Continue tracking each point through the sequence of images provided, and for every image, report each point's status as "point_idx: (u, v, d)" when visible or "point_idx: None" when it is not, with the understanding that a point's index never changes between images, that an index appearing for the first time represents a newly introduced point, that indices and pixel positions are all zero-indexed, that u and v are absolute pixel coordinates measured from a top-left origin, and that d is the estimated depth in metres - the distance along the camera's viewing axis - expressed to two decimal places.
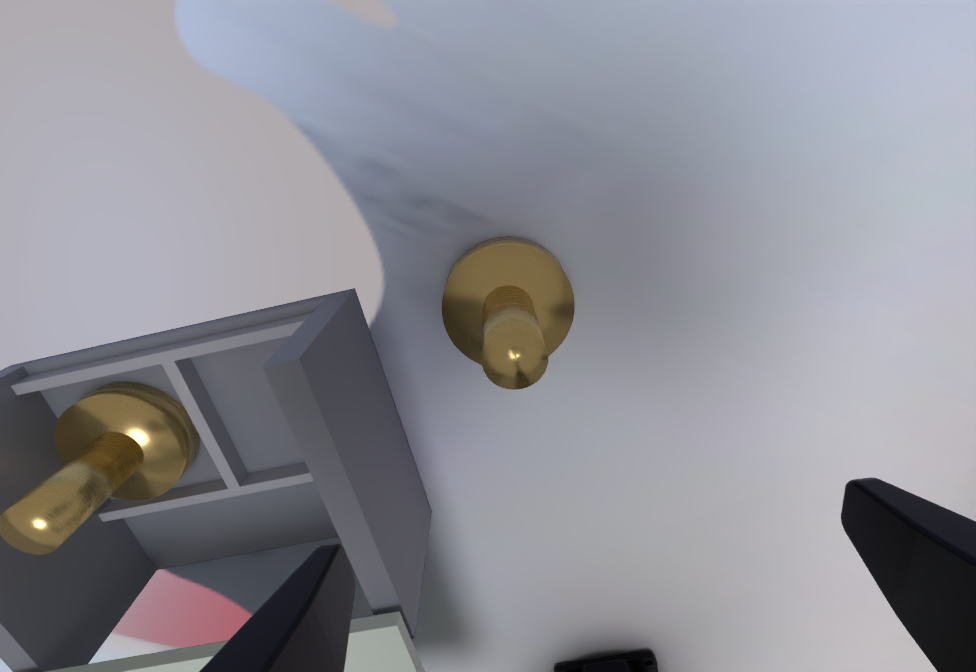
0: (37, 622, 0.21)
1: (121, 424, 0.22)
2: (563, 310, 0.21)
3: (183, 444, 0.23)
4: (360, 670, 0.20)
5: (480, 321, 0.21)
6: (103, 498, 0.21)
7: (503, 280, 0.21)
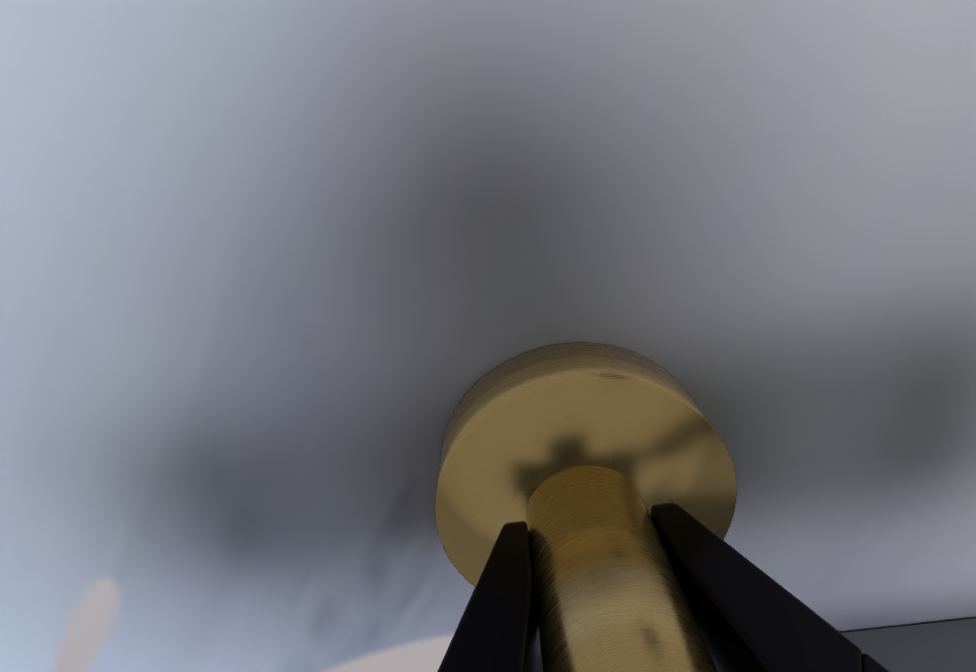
0: None
1: None
2: (606, 404, 0.08)
3: None
4: None
5: None
6: None
7: (514, 518, 0.09)
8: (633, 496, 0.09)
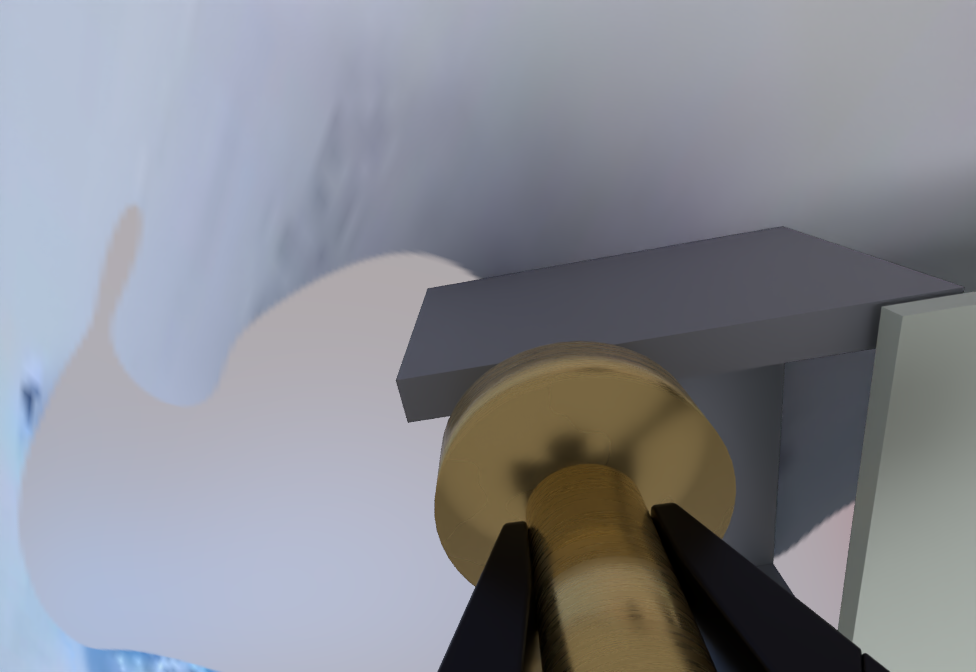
0: None
1: None
2: (605, 403, 0.08)
3: None
4: None
5: None
6: None
7: (513, 517, 0.09)
8: (632, 494, 0.09)
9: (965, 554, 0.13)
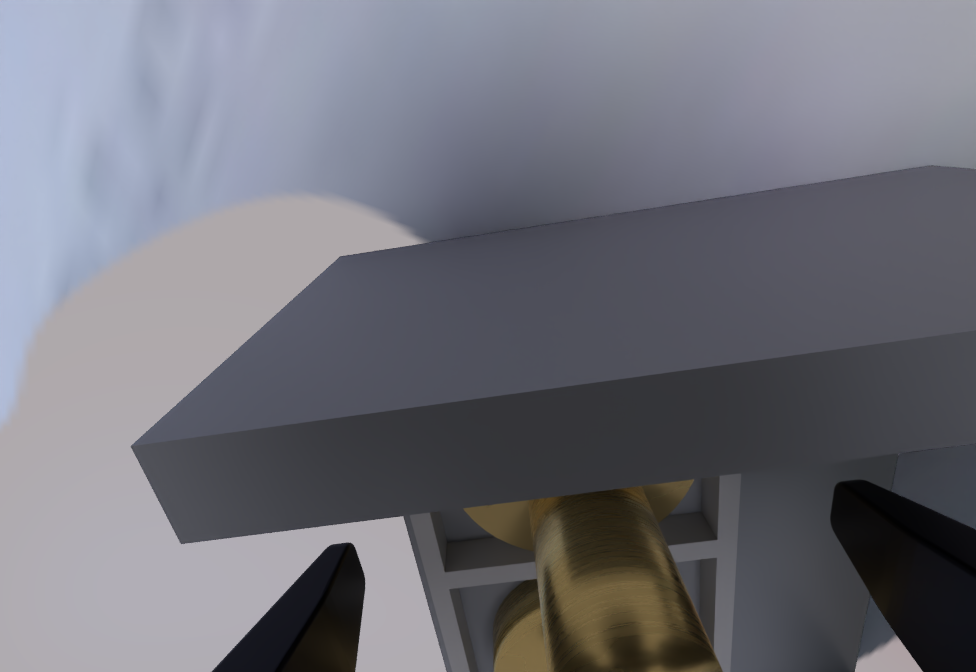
0: None
1: (544, 668, 0.14)
2: None
3: None
4: None
5: None
6: None
7: None
8: None
9: None
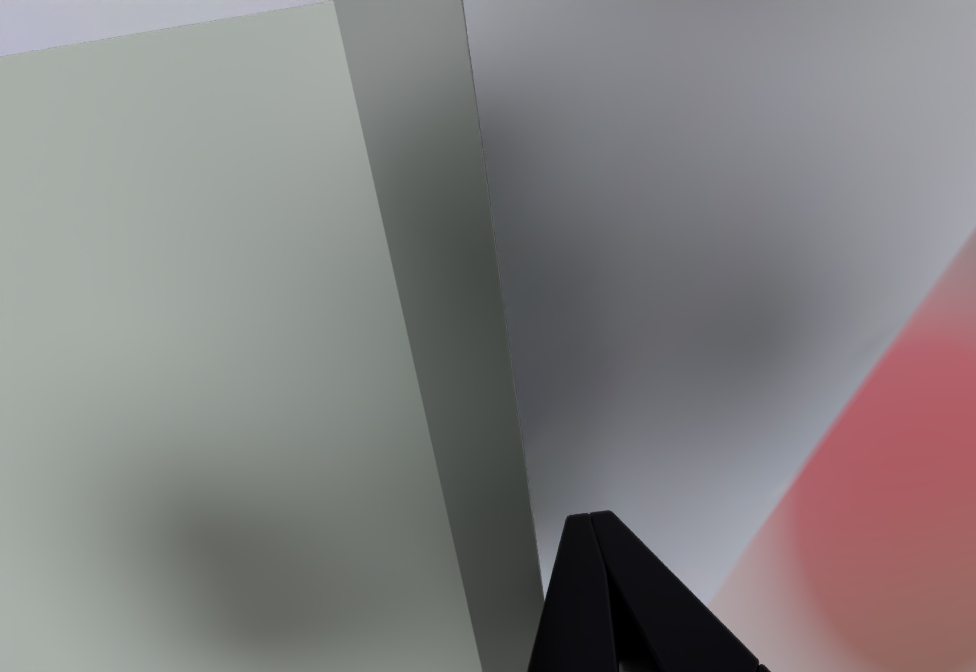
0: None
1: None
2: None
3: None
4: None
5: None
6: None
7: None
8: None
9: None
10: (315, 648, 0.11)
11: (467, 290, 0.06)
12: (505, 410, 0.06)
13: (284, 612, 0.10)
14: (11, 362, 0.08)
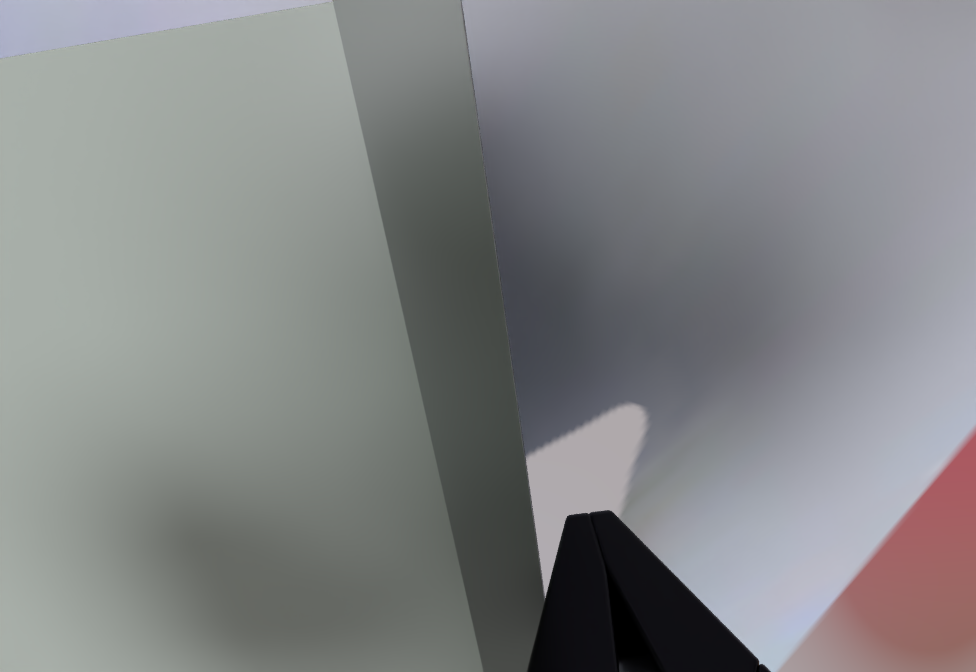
0: None
1: None
2: None
3: None
4: None
5: None
6: None
7: None
8: None
9: None
10: (317, 648, 0.11)
11: (467, 290, 0.06)
12: (505, 409, 0.06)
13: (286, 612, 0.10)
14: (12, 363, 0.08)
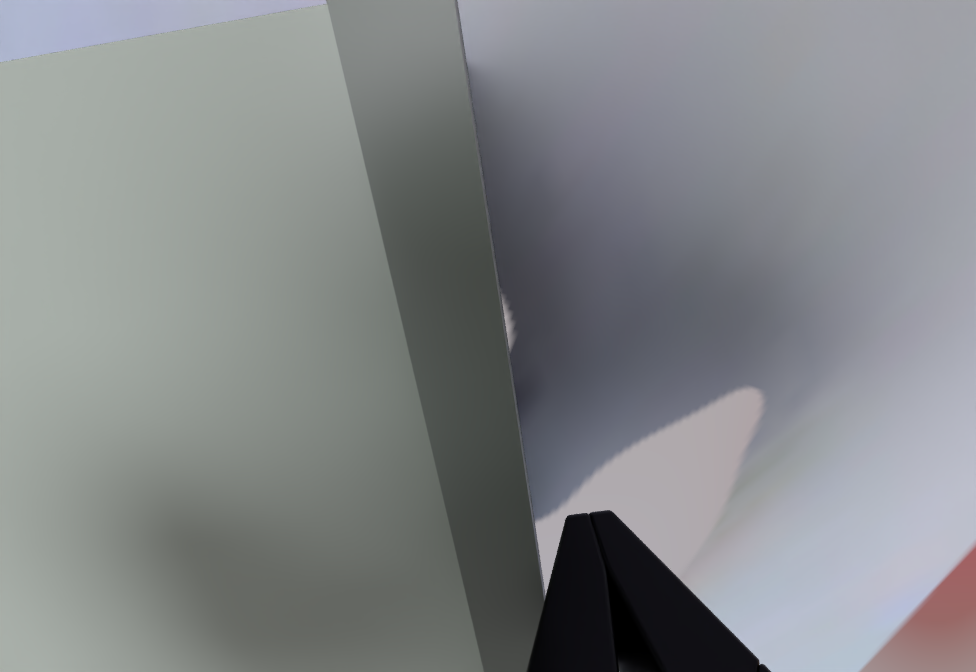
0: None
1: None
2: None
3: None
4: None
5: None
6: None
7: None
8: None
9: None
10: (318, 648, 0.11)
11: (464, 291, 0.06)
12: (503, 410, 0.06)
13: (286, 613, 0.10)
14: (13, 366, 0.08)
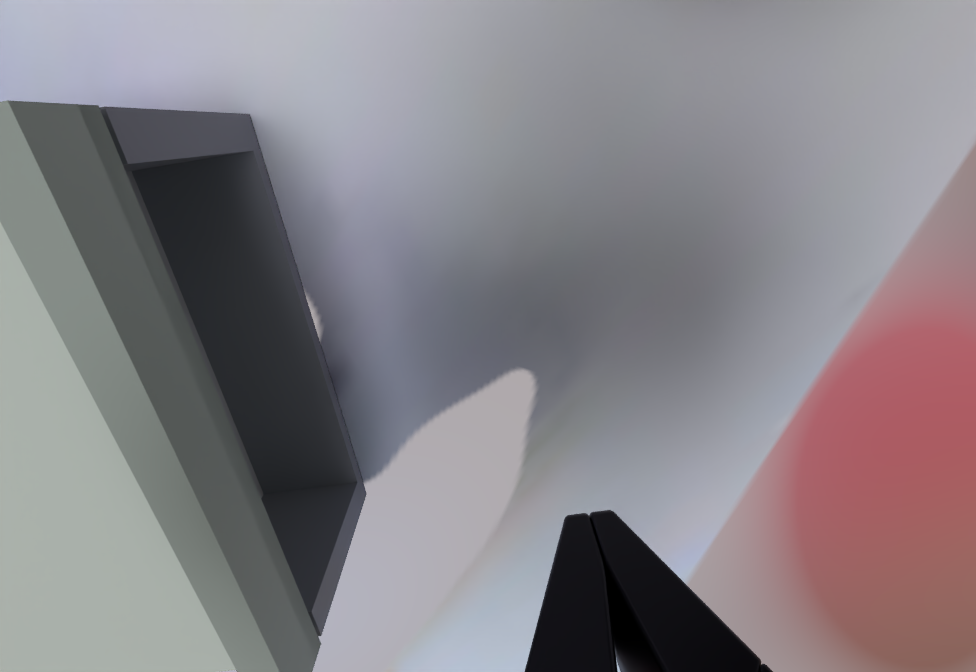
0: None
1: None
2: None
3: None
4: None
5: None
6: None
7: None
8: None
9: None
10: (96, 549, 0.15)
11: (77, 289, 0.10)
12: (124, 363, 0.11)
13: (68, 520, 0.14)
14: None
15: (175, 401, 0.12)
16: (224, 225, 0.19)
